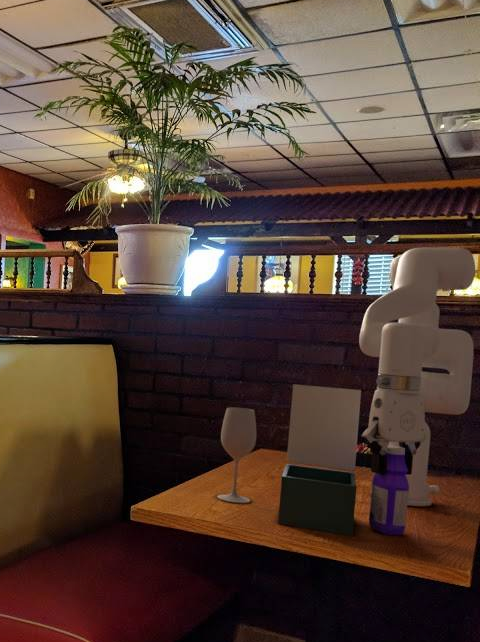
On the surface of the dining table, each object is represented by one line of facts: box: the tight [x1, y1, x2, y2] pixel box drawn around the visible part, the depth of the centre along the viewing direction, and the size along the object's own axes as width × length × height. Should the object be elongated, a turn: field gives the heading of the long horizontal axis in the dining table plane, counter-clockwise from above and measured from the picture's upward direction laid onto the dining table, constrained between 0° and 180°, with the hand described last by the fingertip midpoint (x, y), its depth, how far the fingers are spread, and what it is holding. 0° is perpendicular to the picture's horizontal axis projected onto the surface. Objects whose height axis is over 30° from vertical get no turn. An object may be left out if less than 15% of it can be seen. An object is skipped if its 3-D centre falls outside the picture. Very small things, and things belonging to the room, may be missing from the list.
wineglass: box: [216, 406, 257, 504], centre depth 172 cm, size 8×8×21 cm
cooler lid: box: [286, 384, 362, 472], centre depth 165 cm, size 18×14×1 cm
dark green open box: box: [277, 463, 357, 536], centre depth 157 cm, size 17×14×10 cm
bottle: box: [368, 445, 409, 536], centre depth 151 cm, size 7×6×17 cm
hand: (391, 472), depth 151 cm, fingers closed on bottle, 5 cm apart
